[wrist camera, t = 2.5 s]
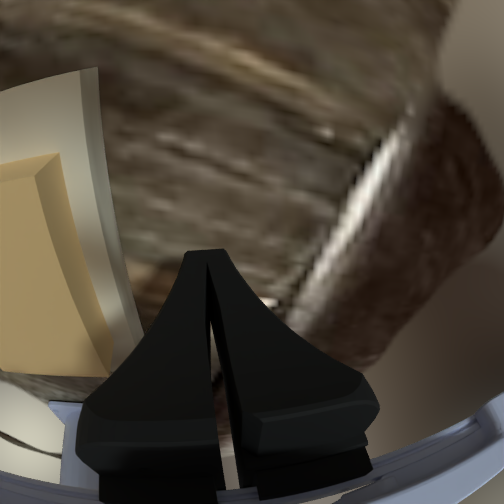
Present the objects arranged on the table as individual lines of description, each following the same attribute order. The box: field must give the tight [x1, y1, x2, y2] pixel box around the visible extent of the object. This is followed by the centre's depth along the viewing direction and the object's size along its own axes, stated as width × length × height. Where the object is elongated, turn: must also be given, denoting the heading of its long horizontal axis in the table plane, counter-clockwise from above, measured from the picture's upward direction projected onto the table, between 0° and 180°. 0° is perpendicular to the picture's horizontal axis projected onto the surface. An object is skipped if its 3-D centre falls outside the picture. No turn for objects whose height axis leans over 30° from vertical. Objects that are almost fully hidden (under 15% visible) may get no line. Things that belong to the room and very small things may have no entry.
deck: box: [0, 67, 144, 372], centre depth 11 cm, size 14×8×2 cm, turn 178°
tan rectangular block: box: [0, 152, 114, 377], centre depth 10 cm, size 9×6×2 cm, turn 178°
